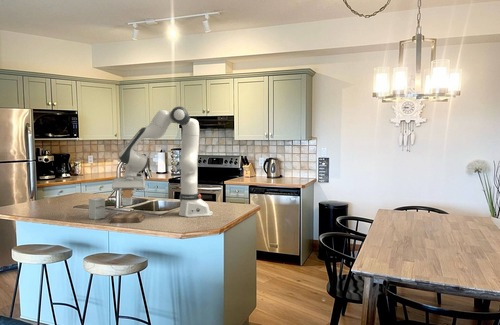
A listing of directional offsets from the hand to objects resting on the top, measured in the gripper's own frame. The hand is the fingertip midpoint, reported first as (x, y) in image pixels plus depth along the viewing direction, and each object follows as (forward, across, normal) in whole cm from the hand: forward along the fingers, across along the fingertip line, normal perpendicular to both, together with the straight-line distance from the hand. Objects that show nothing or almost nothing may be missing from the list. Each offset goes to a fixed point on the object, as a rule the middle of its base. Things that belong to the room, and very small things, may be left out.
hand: (127, 195), depth 232 cm
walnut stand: (+11, 0, +12) cm, 16 cm away
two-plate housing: (+4, 0, +5) cm, 6 cm away
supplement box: (+6, -21, +17) cm, 27 cm away
